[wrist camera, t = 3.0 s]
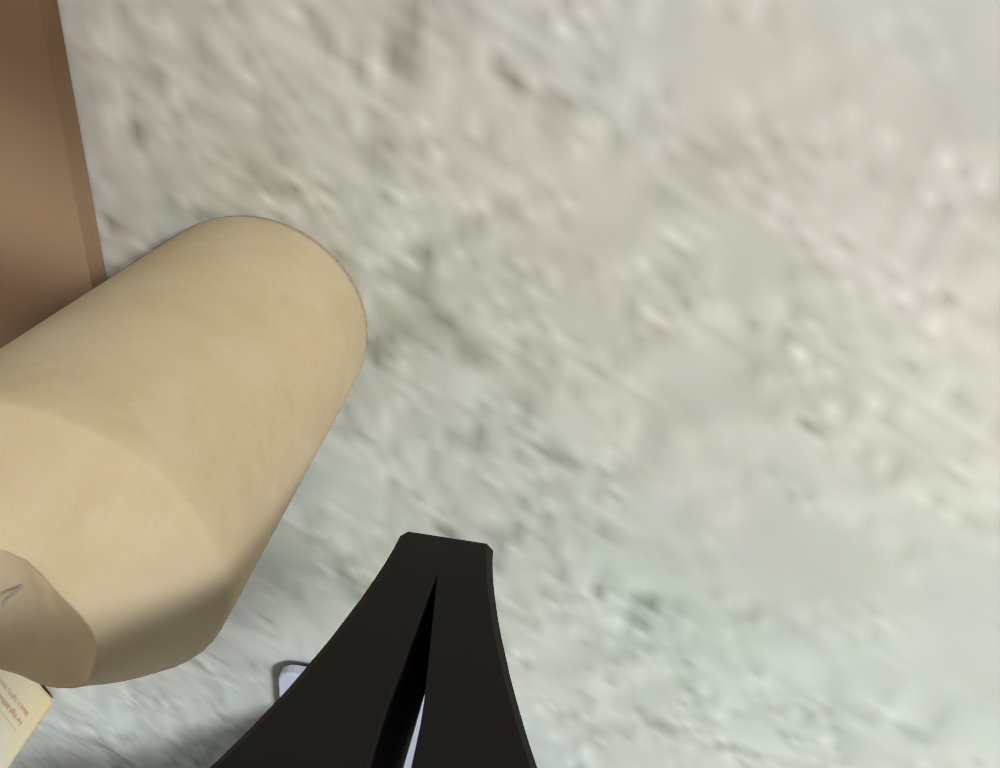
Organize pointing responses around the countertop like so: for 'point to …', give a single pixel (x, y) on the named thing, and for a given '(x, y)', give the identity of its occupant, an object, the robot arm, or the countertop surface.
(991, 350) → the countertop surface
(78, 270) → the walnut board
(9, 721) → the coffeecake box
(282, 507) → the candle
